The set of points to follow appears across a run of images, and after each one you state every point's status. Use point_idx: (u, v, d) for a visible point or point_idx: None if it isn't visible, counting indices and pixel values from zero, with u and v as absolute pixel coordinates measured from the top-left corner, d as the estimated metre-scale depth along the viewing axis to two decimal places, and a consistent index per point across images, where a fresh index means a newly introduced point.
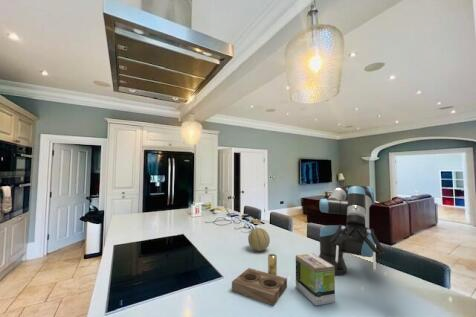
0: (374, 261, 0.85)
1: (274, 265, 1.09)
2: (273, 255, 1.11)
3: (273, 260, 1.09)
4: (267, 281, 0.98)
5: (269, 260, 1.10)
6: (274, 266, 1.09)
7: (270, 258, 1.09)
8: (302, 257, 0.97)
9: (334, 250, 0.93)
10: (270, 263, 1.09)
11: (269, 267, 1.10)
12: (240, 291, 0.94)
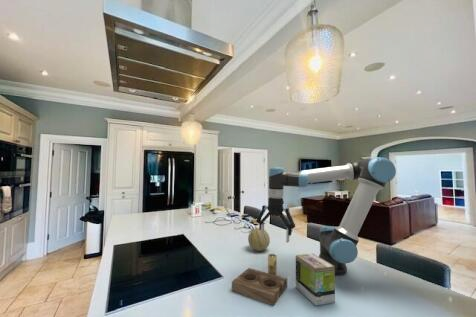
0: (287, 236, 1.05)
1: (274, 265, 1.09)
2: (273, 255, 1.11)
3: (273, 260, 1.09)
4: (267, 281, 0.98)
5: (269, 260, 1.10)
6: (274, 266, 1.09)
7: (270, 258, 1.09)
8: (302, 257, 0.97)
9: (260, 228, 1.13)
10: (270, 263, 1.09)
11: (269, 267, 1.10)
12: (240, 291, 0.94)
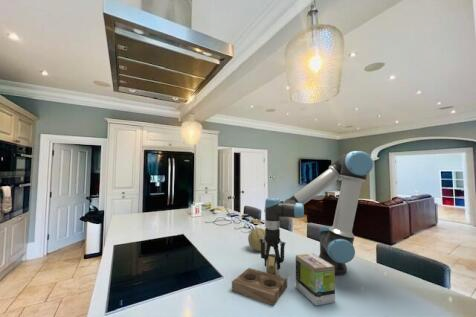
0: (276, 270, 1.08)
1: (274, 265, 1.09)
2: (273, 255, 1.11)
3: (273, 260, 1.09)
4: (267, 281, 0.98)
5: (269, 260, 1.10)
6: (274, 266, 1.09)
7: (270, 258, 1.09)
8: (302, 257, 0.97)
9: (265, 264, 1.12)
10: (270, 263, 1.09)
11: (269, 267, 1.10)
12: (240, 291, 0.94)
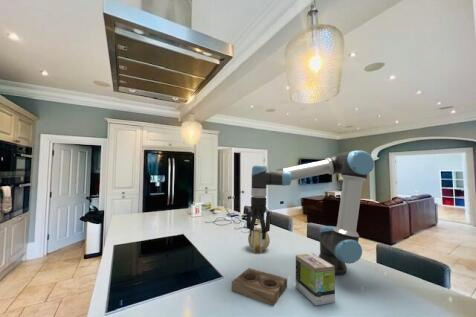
0: (260, 240, 1.03)
1: (259, 240, 1.04)
2: (259, 230, 1.06)
3: (258, 235, 1.03)
4: (267, 281, 0.98)
5: (254, 235, 1.04)
6: (259, 241, 1.03)
7: (255, 233, 1.04)
8: (302, 257, 0.97)
9: (250, 234, 1.07)
10: (255, 238, 1.04)
11: (254, 242, 1.04)
12: (240, 291, 0.94)
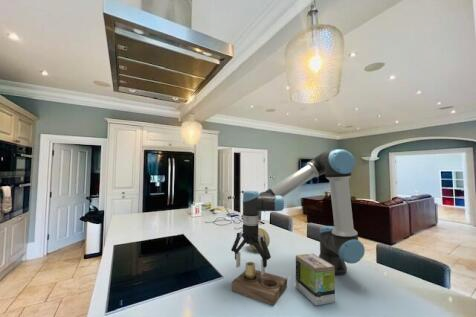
0: (261, 268, 0.96)
1: (252, 275, 0.99)
2: (251, 263, 1.01)
3: (251, 269, 0.99)
4: (267, 281, 0.98)
5: (247, 269, 1.00)
6: (252, 276, 0.99)
7: (248, 267, 0.99)
8: (302, 257, 0.97)
9: (235, 257, 1.04)
10: (248, 272, 0.99)
11: (246, 277, 0.99)
12: (240, 291, 0.94)
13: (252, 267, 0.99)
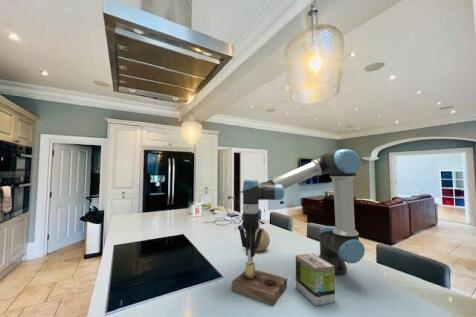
0: (249, 258, 1.00)
1: (252, 275, 0.99)
2: None
3: (251, 269, 0.99)
4: (267, 281, 0.98)
5: (246, 269, 0.99)
6: (252, 276, 0.99)
7: (247, 267, 0.99)
8: (302, 257, 0.97)
9: (246, 253, 1.01)
10: (247, 272, 0.99)
11: (246, 277, 0.99)
12: (240, 291, 0.94)
13: (252, 267, 0.99)
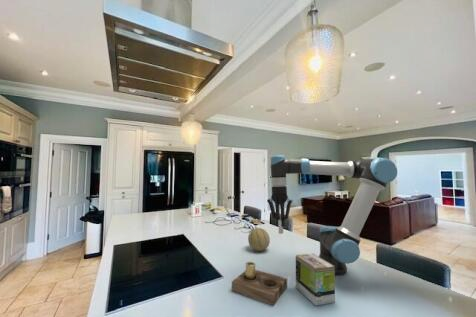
0: (280, 227, 1.07)
1: (252, 275, 0.99)
2: (251, 263, 1.01)
3: (251, 269, 0.99)
4: (267, 281, 0.98)
5: (247, 269, 1.00)
6: (252, 276, 0.99)
7: (248, 267, 0.99)
8: (302, 257, 0.97)
9: (277, 224, 1.08)
10: (248, 272, 0.99)
11: (246, 277, 0.99)
12: (240, 291, 0.94)
13: (252, 267, 0.99)
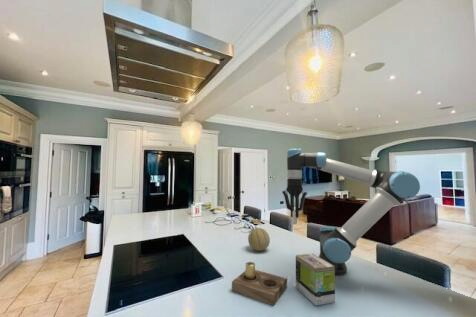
0: (294, 218, 1.11)
1: (252, 275, 0.99)
2: (251, 263, 1.01)
3: (251, 269, 0.99)
4: (267, 281, 0.98)
5: (247, 269, 1.00)
6: (252, 276, 0.99)
7: (248, 267, 0.99)
8: (302, 257, 0.97)
9: (291, 215, 1.12)
10: (247, 272, 0.99)
11: (246, 277, 0.99)
12: (240, 291, 0.94)
13: (252, 267, 0.99)
